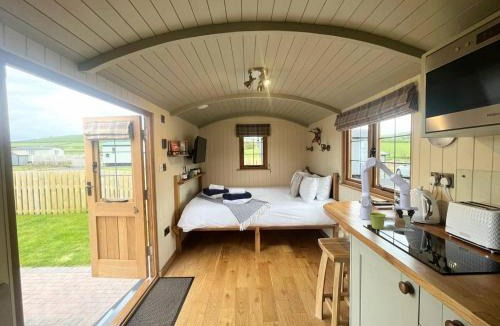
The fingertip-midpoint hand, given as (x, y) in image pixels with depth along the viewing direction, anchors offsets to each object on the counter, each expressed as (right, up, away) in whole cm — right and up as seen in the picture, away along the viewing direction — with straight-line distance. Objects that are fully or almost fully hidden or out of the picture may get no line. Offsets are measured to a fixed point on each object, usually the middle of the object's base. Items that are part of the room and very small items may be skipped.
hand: (405, 221), depth 146 cm
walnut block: (-10, -1, -10) cm, 14 cm away
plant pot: (-23, -2, -8) cm, 25 cm away
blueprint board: (-10, -2, -10) cm, 14 cm away
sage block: (0, -2, 0) cm, 2 cm away
